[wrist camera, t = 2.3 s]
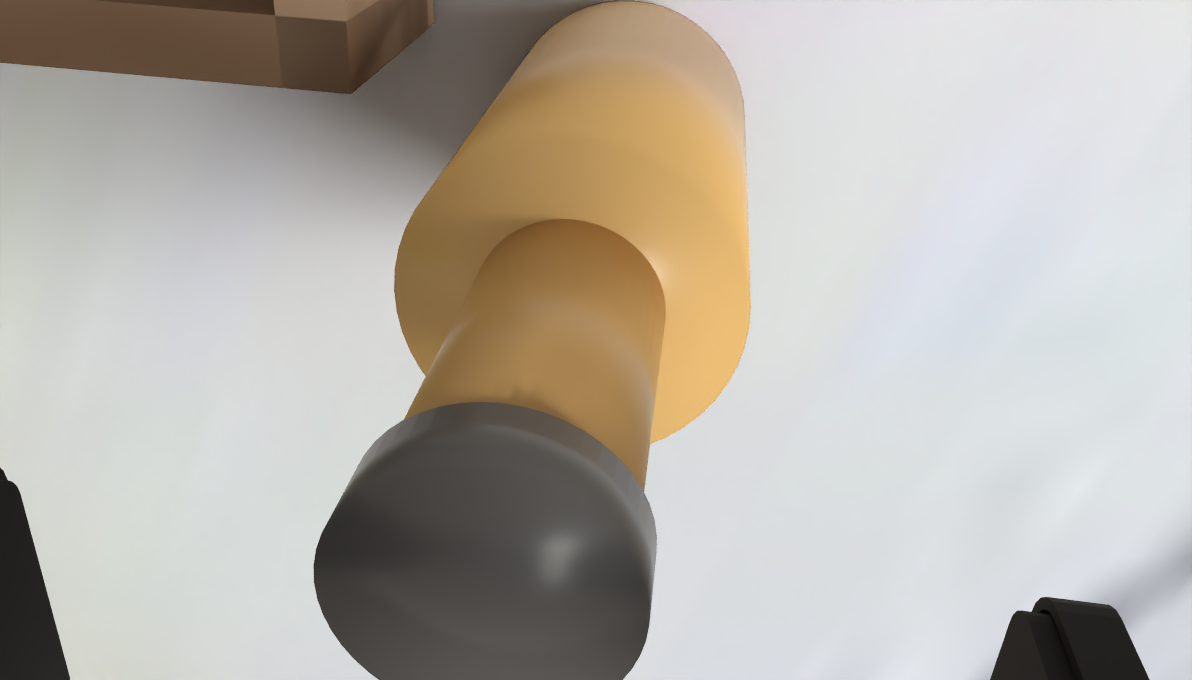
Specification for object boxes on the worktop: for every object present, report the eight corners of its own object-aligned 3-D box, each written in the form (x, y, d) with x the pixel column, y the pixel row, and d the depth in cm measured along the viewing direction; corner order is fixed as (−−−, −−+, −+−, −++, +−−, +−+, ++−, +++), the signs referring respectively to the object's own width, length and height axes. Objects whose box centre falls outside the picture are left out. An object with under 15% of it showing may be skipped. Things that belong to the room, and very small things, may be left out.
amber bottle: (512, -9, 21) (171, 333, 8) (759, 11, 21) (800, 403, 8) (509, 219, 24) (244, 750, 11) (729, 240, 24) (725, 818, 11)
